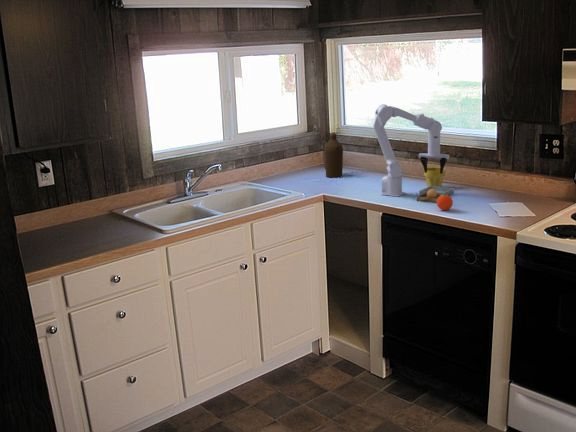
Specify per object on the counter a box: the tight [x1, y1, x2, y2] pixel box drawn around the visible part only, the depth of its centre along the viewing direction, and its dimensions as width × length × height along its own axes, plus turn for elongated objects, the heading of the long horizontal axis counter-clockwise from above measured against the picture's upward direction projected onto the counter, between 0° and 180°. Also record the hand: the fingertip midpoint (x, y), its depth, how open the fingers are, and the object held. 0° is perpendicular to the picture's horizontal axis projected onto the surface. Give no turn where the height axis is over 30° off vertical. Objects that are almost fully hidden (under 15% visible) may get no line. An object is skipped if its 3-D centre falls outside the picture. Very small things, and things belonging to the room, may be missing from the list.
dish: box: [418, 186, 454, 196], centre depth 305 cm, size 12×12×2 cm
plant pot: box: [423, 166, 446, 188], centre depth 319 cm, size 10×10×10 cm
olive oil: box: [323, 131, 344, 179], centre depth 355 cm, size 11×11×25 cm
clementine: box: [436, 195, 454, 211], centre depth 277 cm, size 8×7×7 cm
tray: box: [416, 193, 441, 204], centre depth 295 cm, size 11×9×2 cm
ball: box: [427, 189, 437, 198], centre depth 295 cm, size 5×5×5 cm
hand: (433, 172), depth 307 cm, fingers open, 7 cm apart
